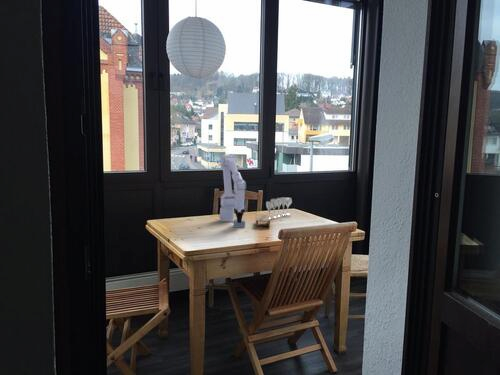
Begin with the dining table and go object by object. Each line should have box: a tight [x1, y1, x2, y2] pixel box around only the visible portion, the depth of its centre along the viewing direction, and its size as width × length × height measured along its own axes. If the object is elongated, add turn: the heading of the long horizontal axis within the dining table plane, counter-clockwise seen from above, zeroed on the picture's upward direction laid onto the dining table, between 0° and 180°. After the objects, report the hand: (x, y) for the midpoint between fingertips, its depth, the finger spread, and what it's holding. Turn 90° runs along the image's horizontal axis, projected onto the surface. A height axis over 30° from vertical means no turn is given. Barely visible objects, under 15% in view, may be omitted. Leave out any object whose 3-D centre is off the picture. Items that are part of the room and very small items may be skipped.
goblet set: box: [265, 196, 293, 220], centre depth 301 cm, size 28×6×13 cm, turn 141°
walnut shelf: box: [255, 214, 271, 229], centre depth 269 cm, size 8×17×5 cm, turn 179°
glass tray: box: [233, 219, 246, 228], centre depth 265 cm, size 7×5×4 cm
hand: (239, 221), depth 264 cm, fingers open, 7 cm apart
